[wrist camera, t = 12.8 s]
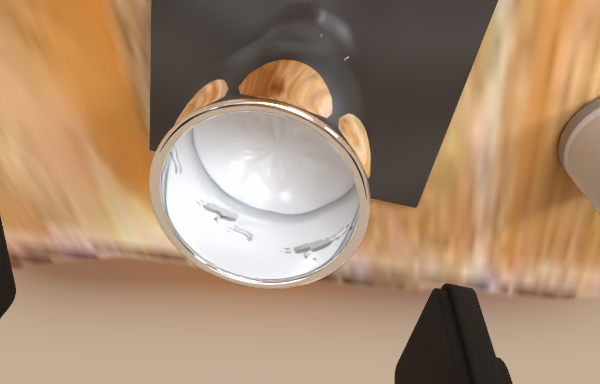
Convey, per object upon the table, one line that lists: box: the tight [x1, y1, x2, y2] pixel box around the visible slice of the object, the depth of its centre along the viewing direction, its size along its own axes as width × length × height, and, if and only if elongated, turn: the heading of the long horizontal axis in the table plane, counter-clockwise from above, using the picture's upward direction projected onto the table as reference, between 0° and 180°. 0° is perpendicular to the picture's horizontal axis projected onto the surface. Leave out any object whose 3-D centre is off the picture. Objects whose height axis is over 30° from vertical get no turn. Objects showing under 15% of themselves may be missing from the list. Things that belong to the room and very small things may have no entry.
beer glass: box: [149, 5, 374, 289], centre depth 20 cm, size 7×7×15 cm
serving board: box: [150, 0, 498, 208], centre depth 27 cm, size 16×18×2 cm
